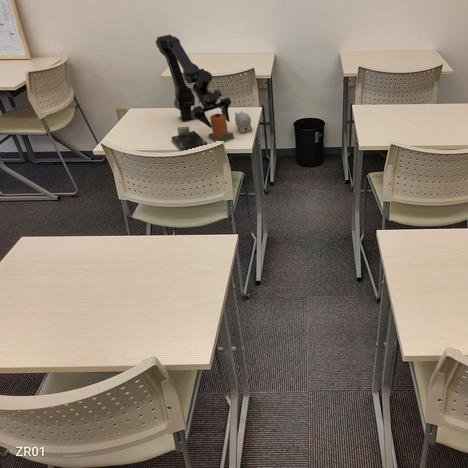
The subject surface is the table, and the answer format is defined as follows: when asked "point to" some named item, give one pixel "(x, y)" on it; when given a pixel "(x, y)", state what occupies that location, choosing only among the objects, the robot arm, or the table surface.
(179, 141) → the hob
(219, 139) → the rack
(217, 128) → the pot
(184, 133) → the grey and red block
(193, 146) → the hob plate
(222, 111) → the robot arm
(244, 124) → the round bodied animal figurine
